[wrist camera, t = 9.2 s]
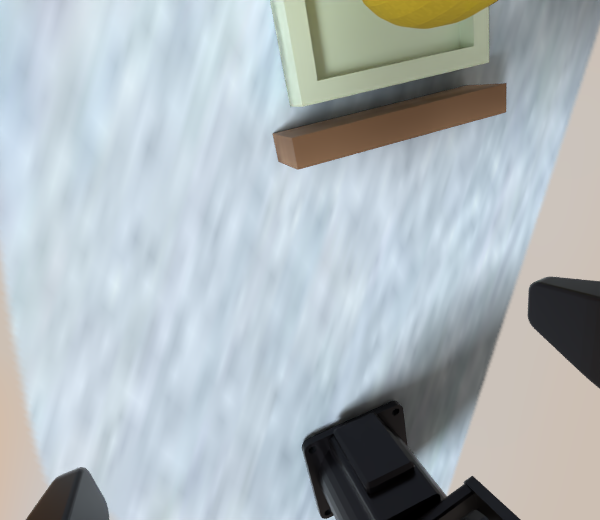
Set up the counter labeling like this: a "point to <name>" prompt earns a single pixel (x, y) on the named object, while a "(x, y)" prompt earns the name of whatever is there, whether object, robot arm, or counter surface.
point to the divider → (387, 124)
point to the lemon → (426, 11)
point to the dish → (366, 49)
